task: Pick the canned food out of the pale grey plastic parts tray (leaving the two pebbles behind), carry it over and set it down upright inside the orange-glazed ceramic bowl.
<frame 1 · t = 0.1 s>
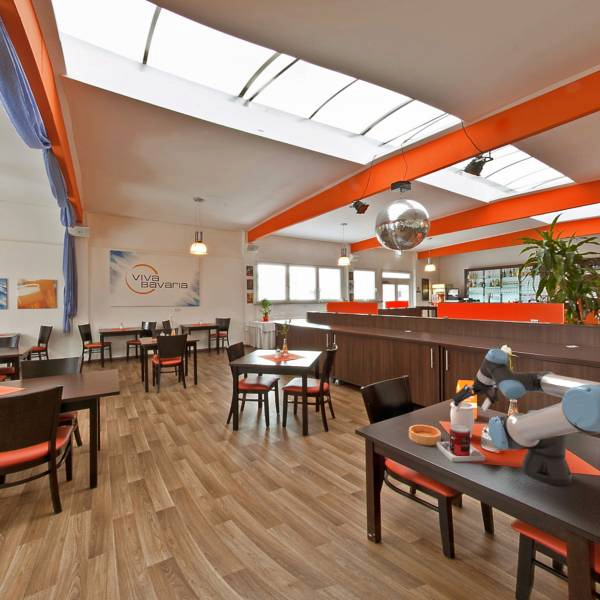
hand: (469, 409, 154), 15 cm above the table, tool tilted 35°, fingers open, 13 cm apart
pebble b: (475, 457, 139), resting on parts tray
jar: (462, 435, 162), on the table
parts tray: (459, 453, 144), on the table
pebble a: (444, 448, 148), resting on parts tray
orange juice: (466, 415, 188), on the table
bowl: (424, 438, 158), on the table
canned food: (459, 453, 144), resting on parts tray
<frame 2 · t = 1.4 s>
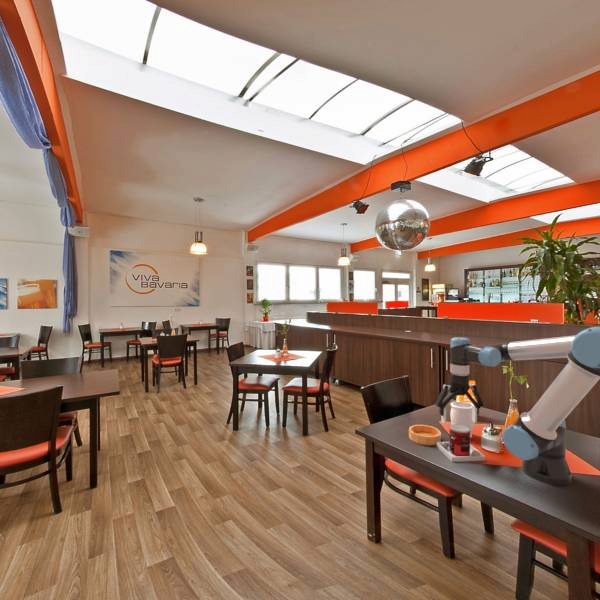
hand: (458, 422, 144), 13 cm above the table, tool pointing down, fingers open, 13 cm apart
nothing on the table moved.
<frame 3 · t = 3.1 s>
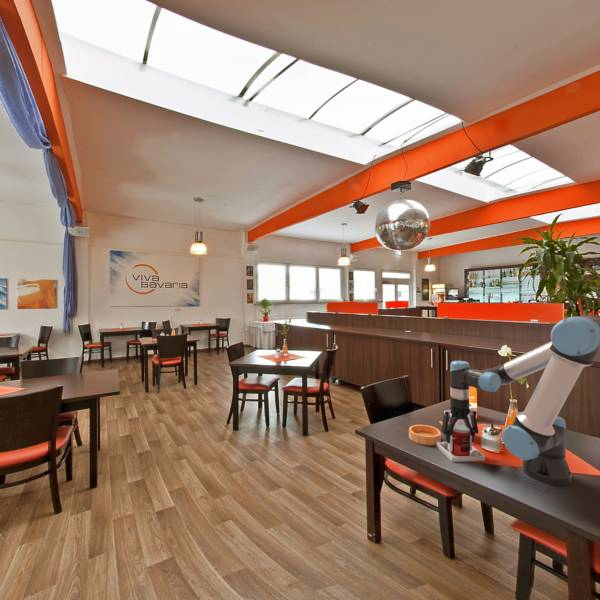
hand: (459, 449, 143), 2 cm above the table, tool pointing down, fingers closed on canned food, 8 cm apart
canned food: (459, 453, 144), resting on parts tray, touching gripper
everything else where it was.
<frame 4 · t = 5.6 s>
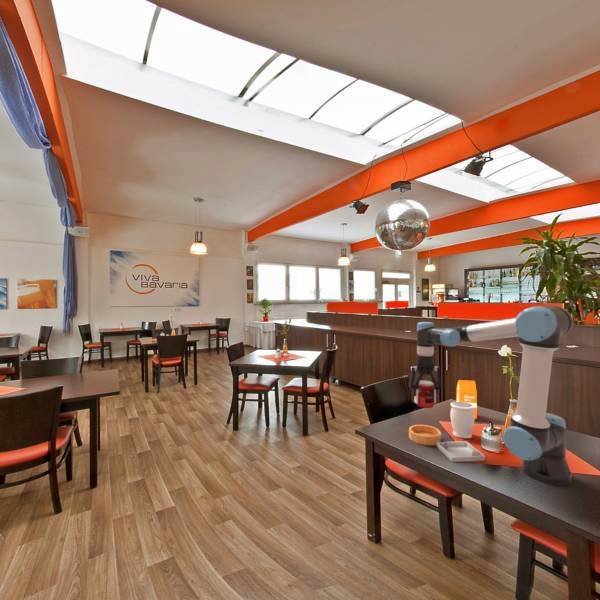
hand: (425, 402, 158), 18 cm above the table, tool pointing down, fingers closed on canned food, 8 cm apart
canned food: (424, 405, 158), point 16 cm above the table, touching gripper
everything else where it was.
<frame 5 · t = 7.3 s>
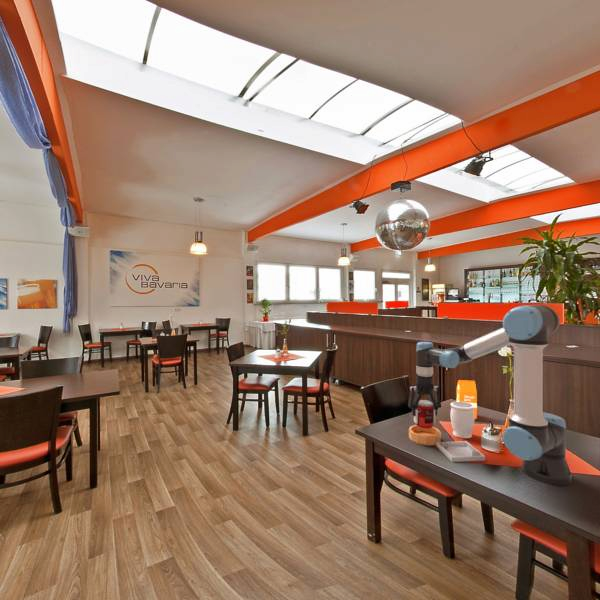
hand: (424, 422, 158), 8 cm above the table, tool pointing down, fingers closed on canned food, 8 cm apart
canned food: (424, 425, 158), point 6 cm above the table, touching gripper
everything else where it was.
when the fingers open (4 cm above the table, at t = 8.5 s): canned food drops 2 cm, resting on bowl.
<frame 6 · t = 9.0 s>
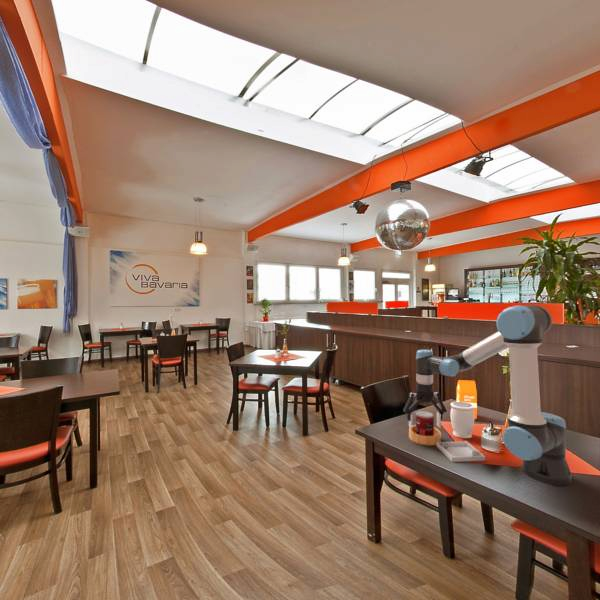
hand: (424, 427, 158), 6 cm above the table, tool pointing down, fingers open, 13 cm apart
canned food: (424, 437, 158), point 1 cm above the table, touching bowl
everything else where it was.
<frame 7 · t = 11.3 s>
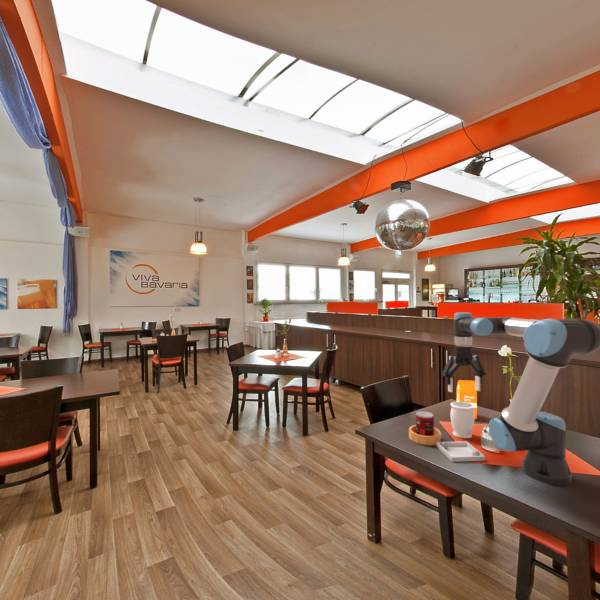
hand: (464, 391, 155), 24 cm above the table, tool pointing down, fingers open, 13 cm apart
nothing on the table moved.
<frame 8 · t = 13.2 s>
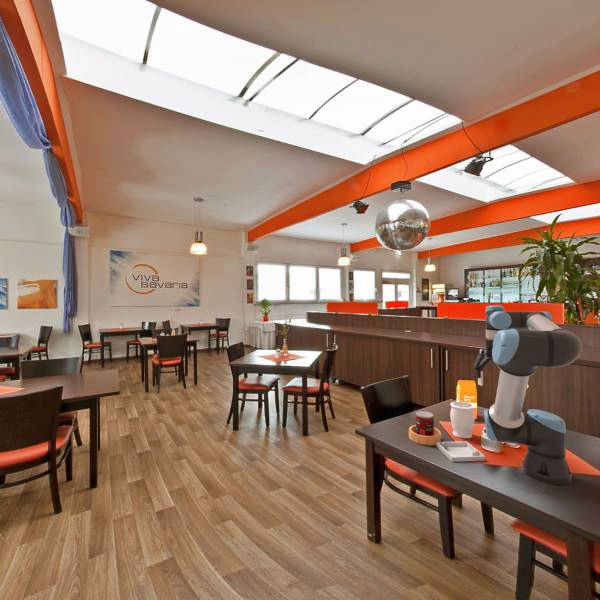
hand: (494, 384, 154), 27 cm above the table, tool pointing down, fingers open, 13 cm apart
nothing on the table moved.
at the end: canned food inside the target area on the bowl (0.0 cm from its centre), point 0.8 cm above the bowl's base; canned food tilted 0°; the gripper is holding nothing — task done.
